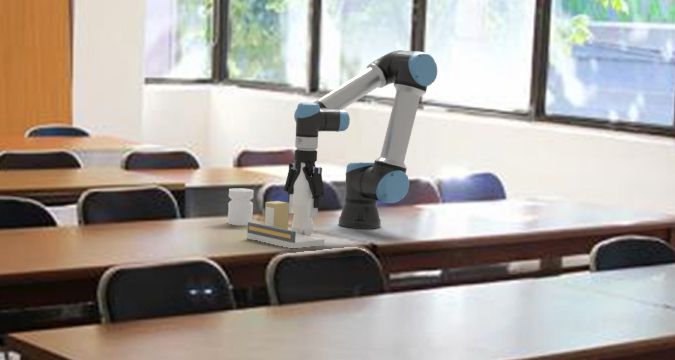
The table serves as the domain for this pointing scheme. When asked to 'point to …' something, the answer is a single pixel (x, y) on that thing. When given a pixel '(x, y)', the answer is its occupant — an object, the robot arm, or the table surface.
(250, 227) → the shelf board
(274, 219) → the tea box
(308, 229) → the water bottle
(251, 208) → the white jar
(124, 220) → the table surface
